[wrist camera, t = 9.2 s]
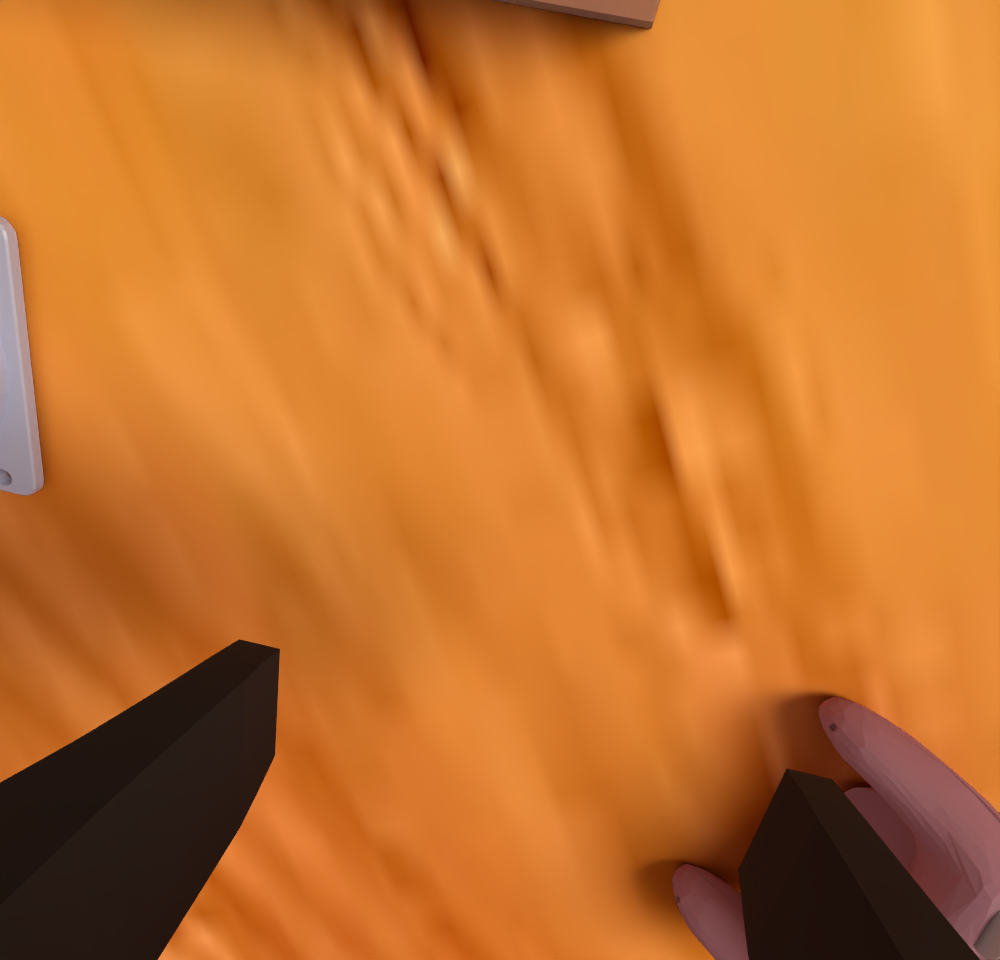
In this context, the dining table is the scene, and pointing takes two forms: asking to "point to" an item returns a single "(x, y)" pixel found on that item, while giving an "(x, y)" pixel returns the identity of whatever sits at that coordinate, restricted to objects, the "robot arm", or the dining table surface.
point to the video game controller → (886, 836)
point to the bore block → (601, 9)
